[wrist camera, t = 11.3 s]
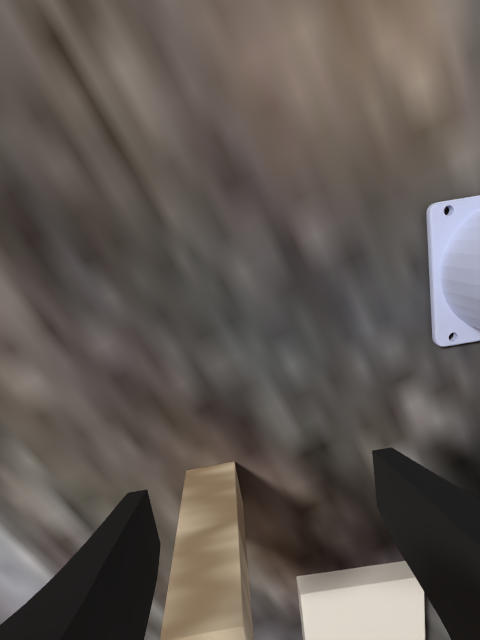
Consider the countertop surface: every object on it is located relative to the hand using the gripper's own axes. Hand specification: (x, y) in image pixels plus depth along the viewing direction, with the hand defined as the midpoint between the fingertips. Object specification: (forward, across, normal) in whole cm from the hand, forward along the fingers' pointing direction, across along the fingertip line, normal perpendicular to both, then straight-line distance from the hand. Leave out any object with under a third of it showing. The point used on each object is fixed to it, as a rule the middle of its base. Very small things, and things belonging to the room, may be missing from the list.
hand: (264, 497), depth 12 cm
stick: (+10, +3, +7) cm, 13 cm away
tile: (+10, -5, +15) cm, 19 cm away
